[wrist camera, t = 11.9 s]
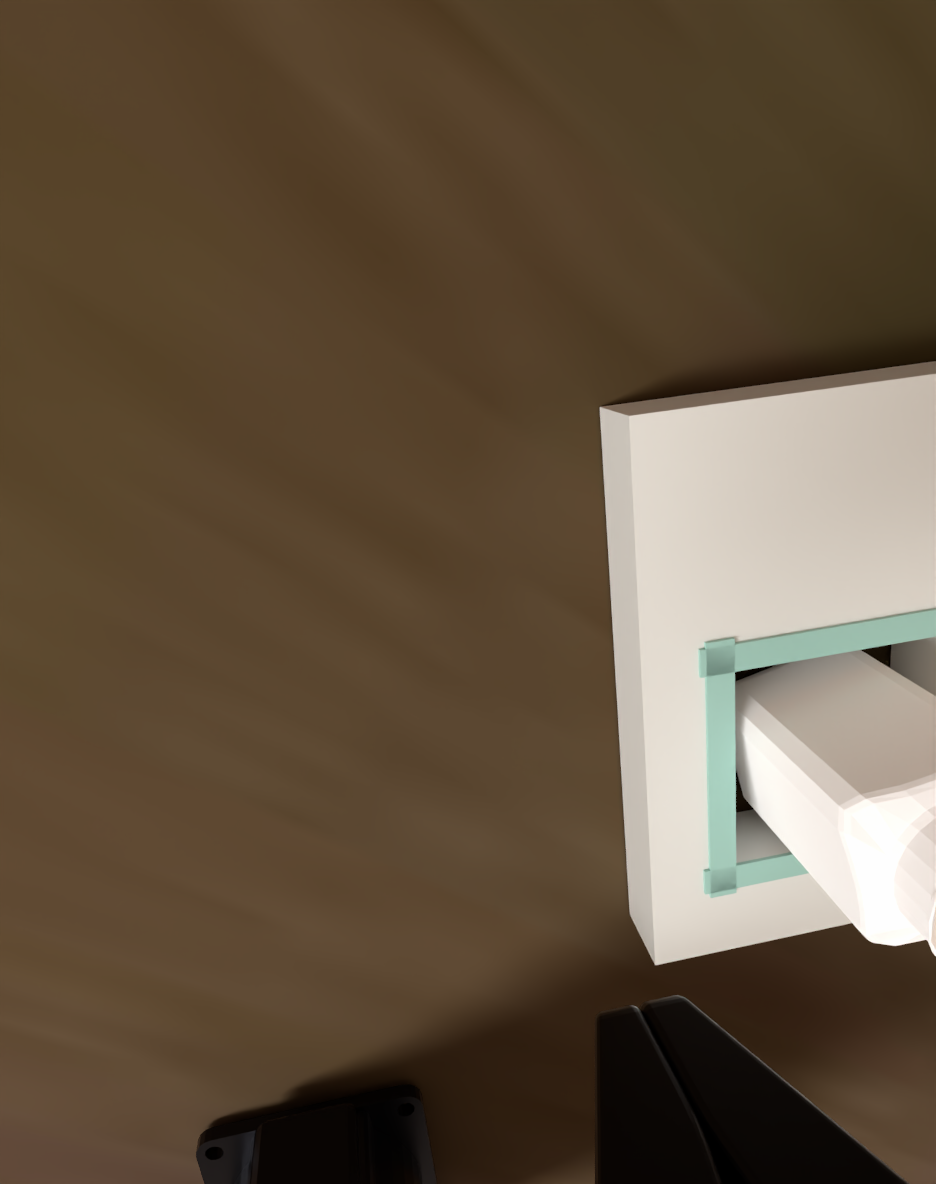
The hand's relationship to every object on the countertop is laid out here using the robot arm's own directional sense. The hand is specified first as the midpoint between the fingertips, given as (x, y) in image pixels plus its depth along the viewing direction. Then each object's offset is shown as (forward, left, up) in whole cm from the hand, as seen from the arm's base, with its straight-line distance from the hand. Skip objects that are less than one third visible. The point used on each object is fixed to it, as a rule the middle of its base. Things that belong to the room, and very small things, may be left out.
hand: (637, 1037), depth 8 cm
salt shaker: (-5, -9, -13) cm, 17 cm away
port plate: (-3, -9, -13) cm, 16 cm away
